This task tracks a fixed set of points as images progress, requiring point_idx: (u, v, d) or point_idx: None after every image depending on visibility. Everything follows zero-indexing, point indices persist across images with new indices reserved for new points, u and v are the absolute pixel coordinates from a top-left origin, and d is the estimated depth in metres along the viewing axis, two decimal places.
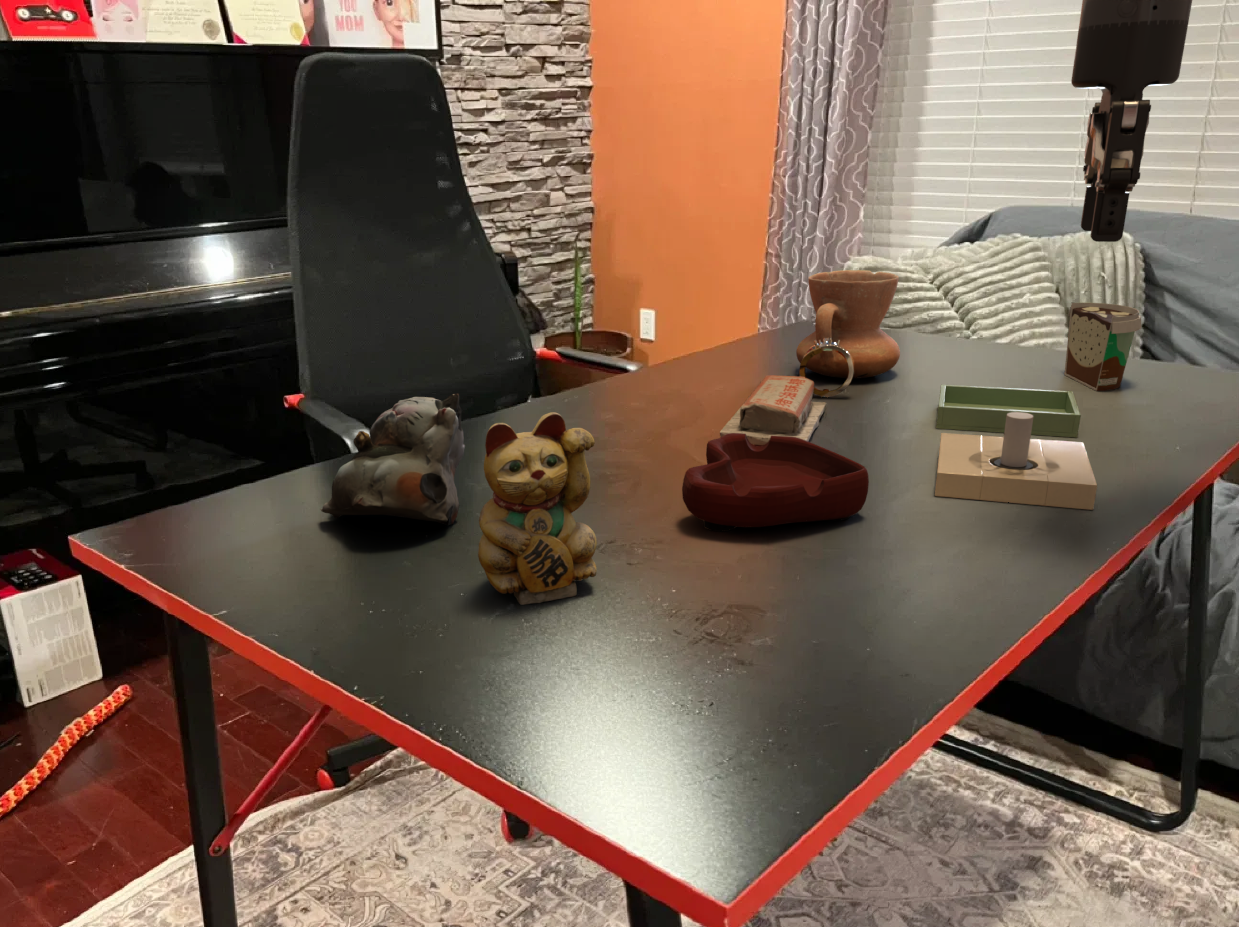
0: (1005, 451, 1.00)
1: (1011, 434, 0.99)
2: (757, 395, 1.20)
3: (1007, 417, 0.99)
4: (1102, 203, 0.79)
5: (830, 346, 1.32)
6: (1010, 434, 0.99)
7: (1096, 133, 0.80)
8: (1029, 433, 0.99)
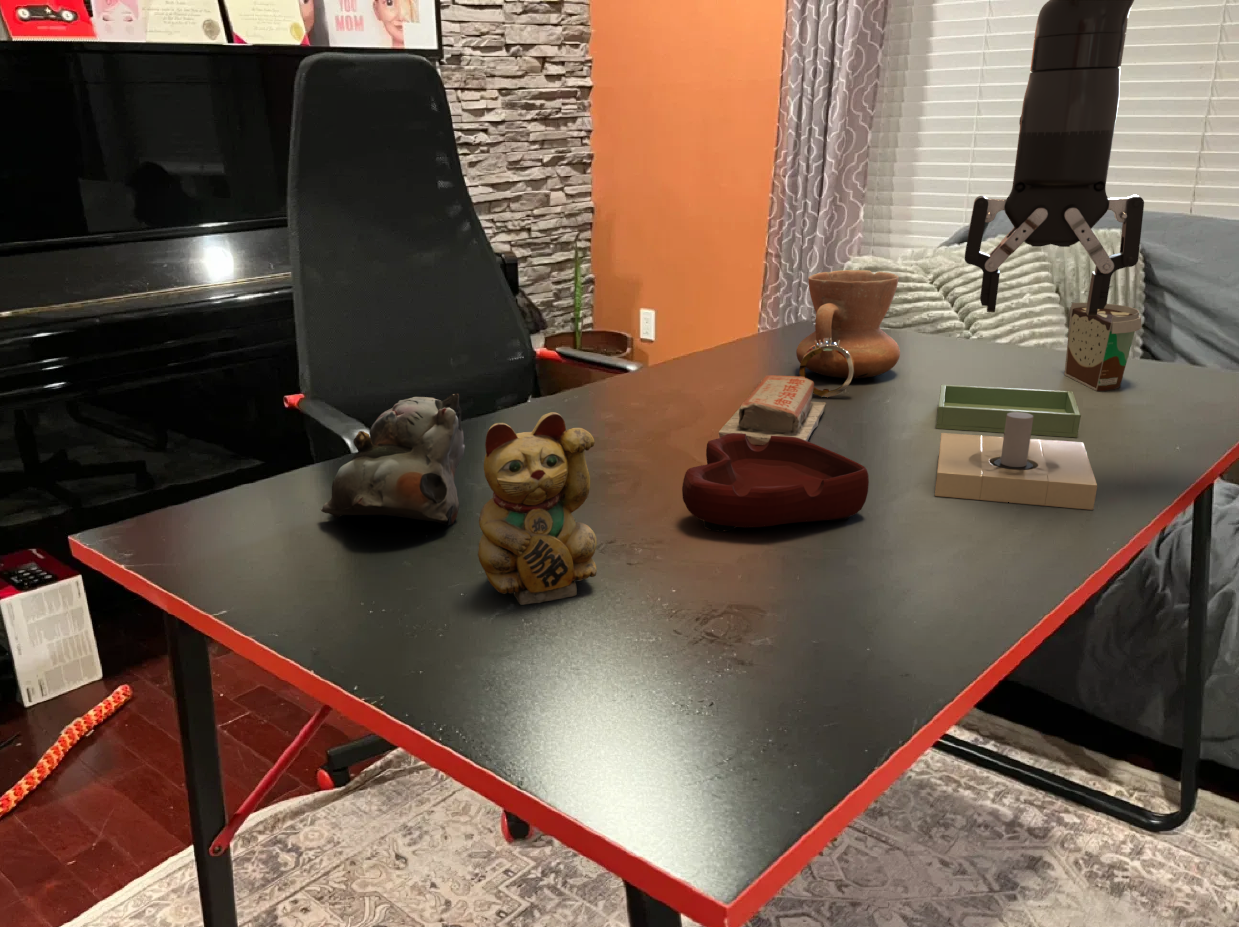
0: (1005, 451, 1.00)
1: (1011, 434, 0.99)
2: (756, 395, 1.20)
3: (1007, 417, 0.99)
4: None
5: (830, 346, 1.32)
6: (1010, 434, 0.99)
7: None
8: (1029, 433, 0.99)
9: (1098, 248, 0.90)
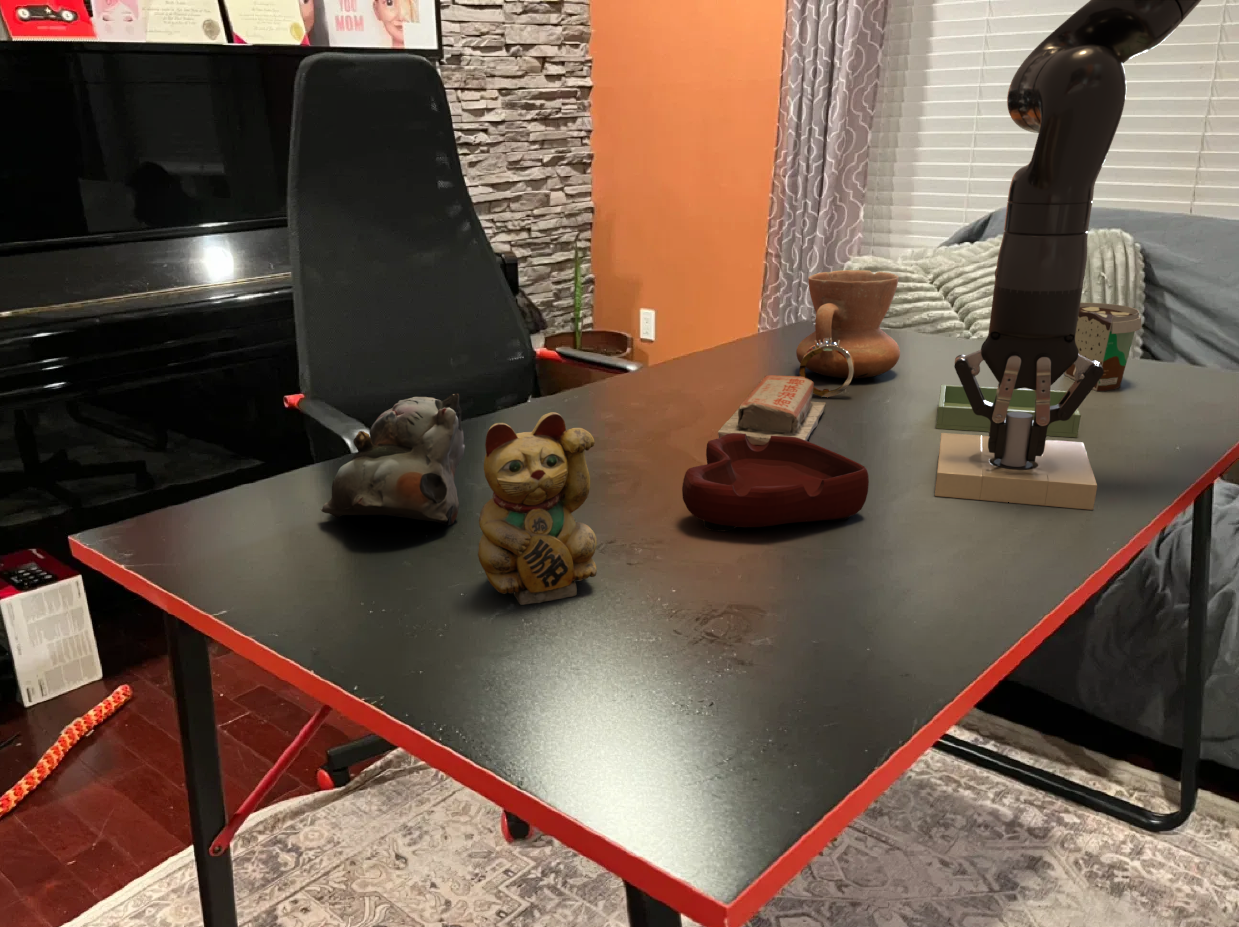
0: (1005, 451, 1.00)
1: (1011, 434, 0.99)
2: (756, 395, 1.20)
3: (1007, 417, 0.99)
4: None
5: (830, 346, 1.32)
6: (1010, 434, 0.99)
7: None
8: (1029, 433, 0.99)
9: (1046, 402, 0.96)
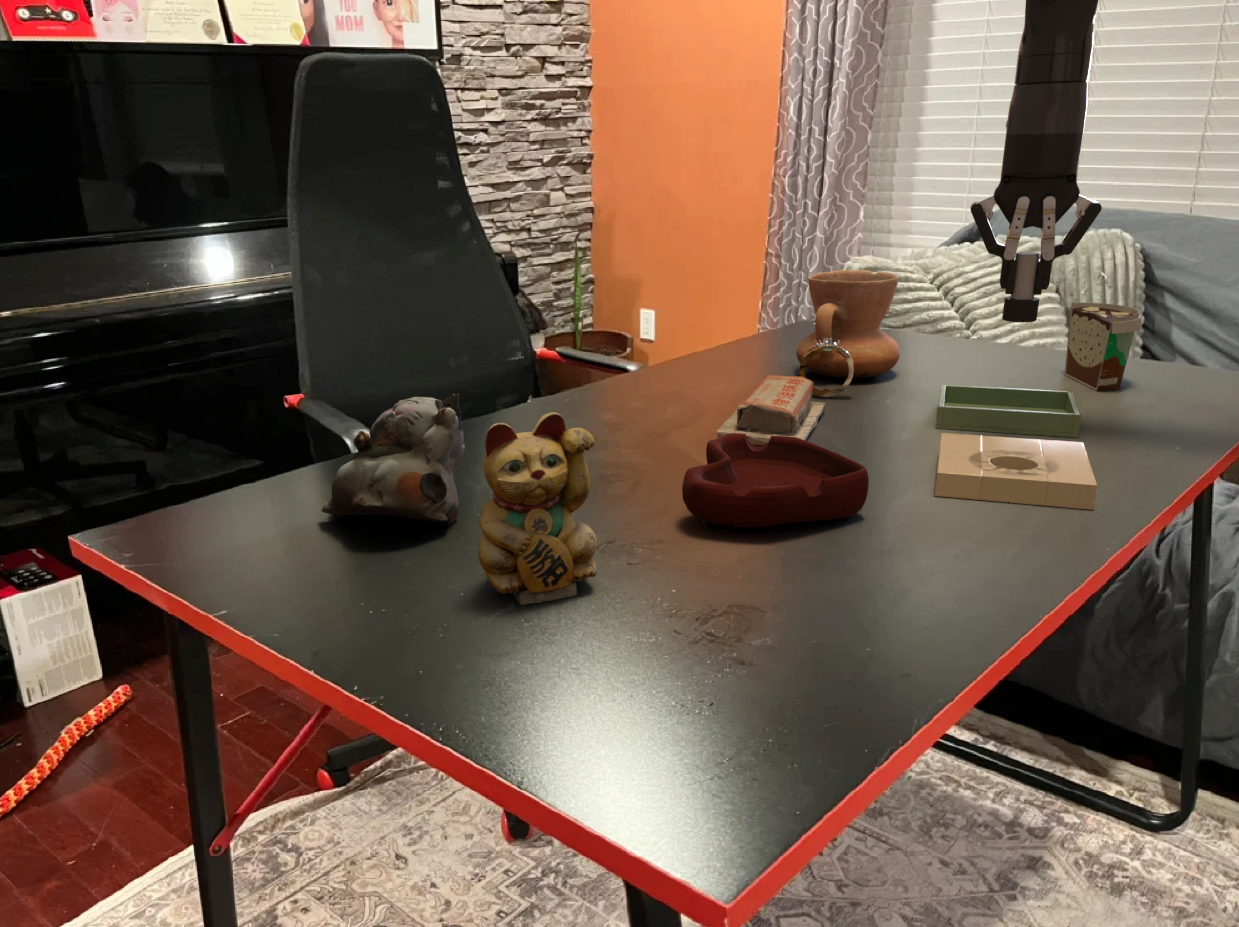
0: (1015, 286, 1.14)
1: (1020, 270, 1.13)
2: (755, 395, 1.20)
3: (1016, 255, 1.13)
4: None
5: (830, 346, 1.32)
6: (1019, 270, 1.13)
7: None
8: (1036, 268, 1.12)
9: (1051, 237, 1.10)
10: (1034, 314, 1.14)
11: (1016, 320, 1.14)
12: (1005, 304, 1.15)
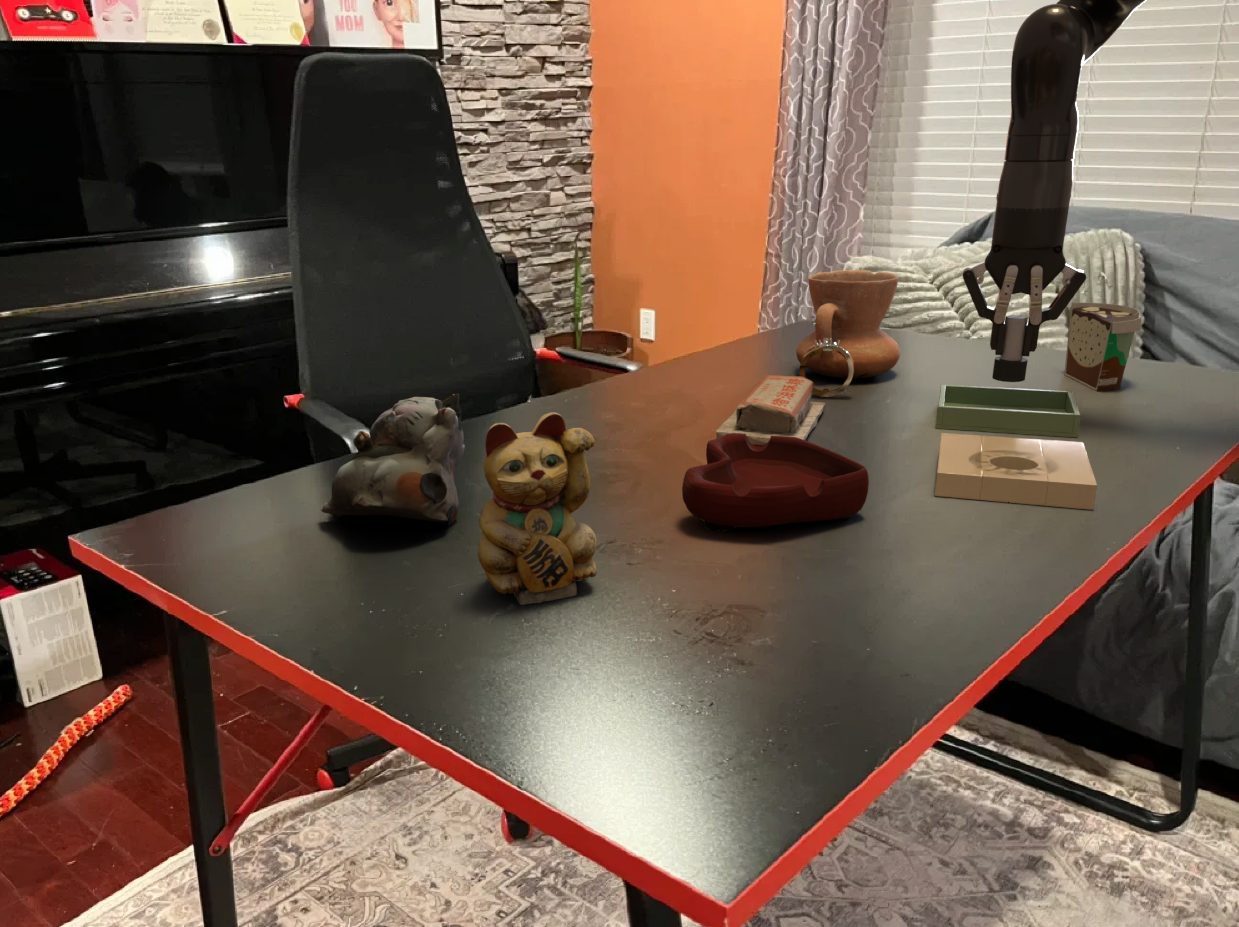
0: (1004, 348, 1.20)
1: (1009, 333, 1.19)
2: (754, 395, 1.20)
3: (1006, 318, 1.19)
4: None
5: (830, 346, 1.32)
6: (1009, 333, 1.19)
7: None
8: (1024, 331, 1.19)
9: (1038, 304, 1.16)
10: (1022, 374, 1.20)
11: (1005, 380, 1.20)
12: (995, 364, 1.21)
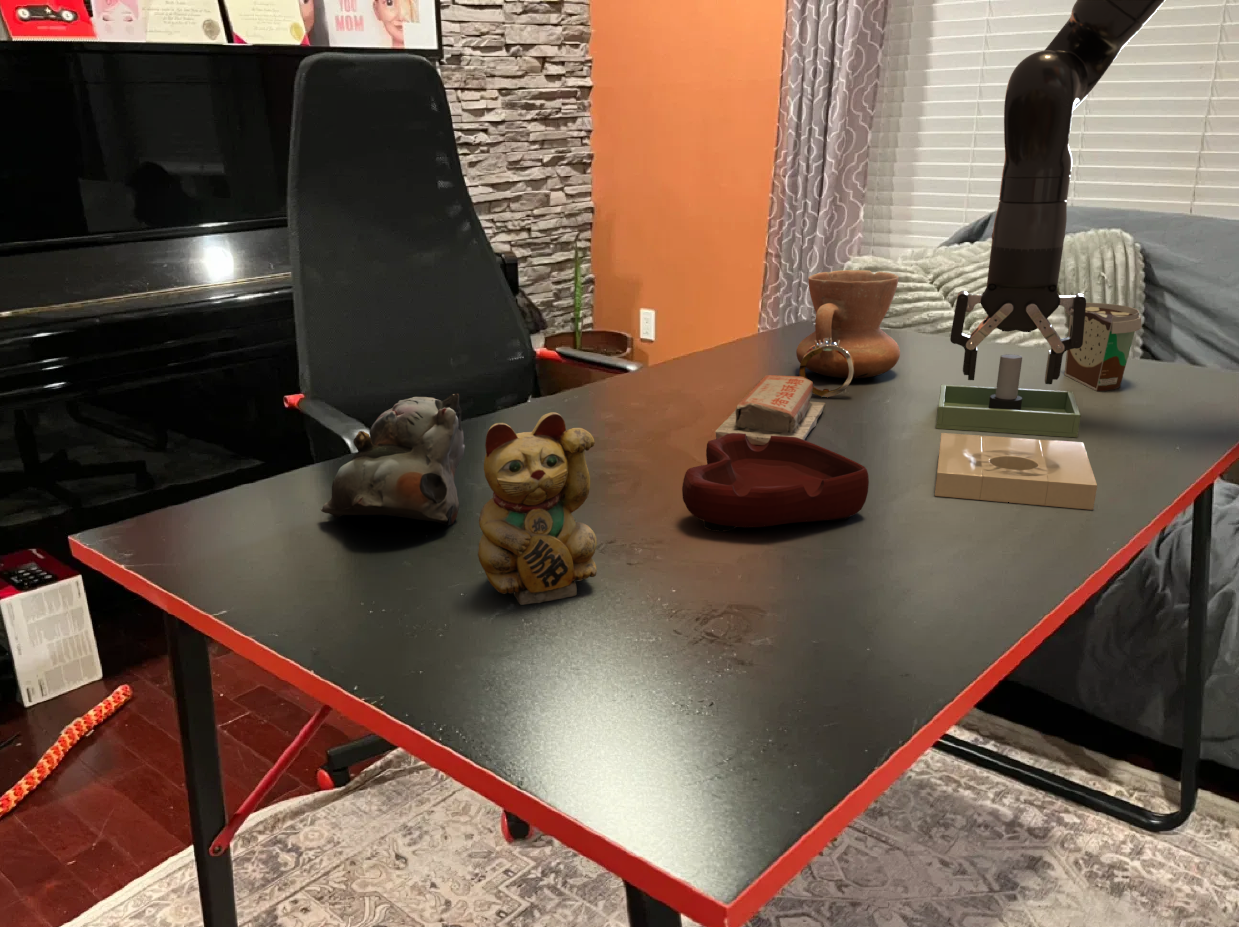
0: (999, 386, 1.21)
1: (1004, 372, 1.20)
2: (754, 395, 1.20)
3: (1001, 358, 1.21)
4: None
5: (830, 346, 1.32)
6: (1003, 372, 1.21)
7: None
8: (1019, 371, 1.20)
9: (1052, 334, 1.17)
10: None
11: None
12: (990, 402, 1.23)
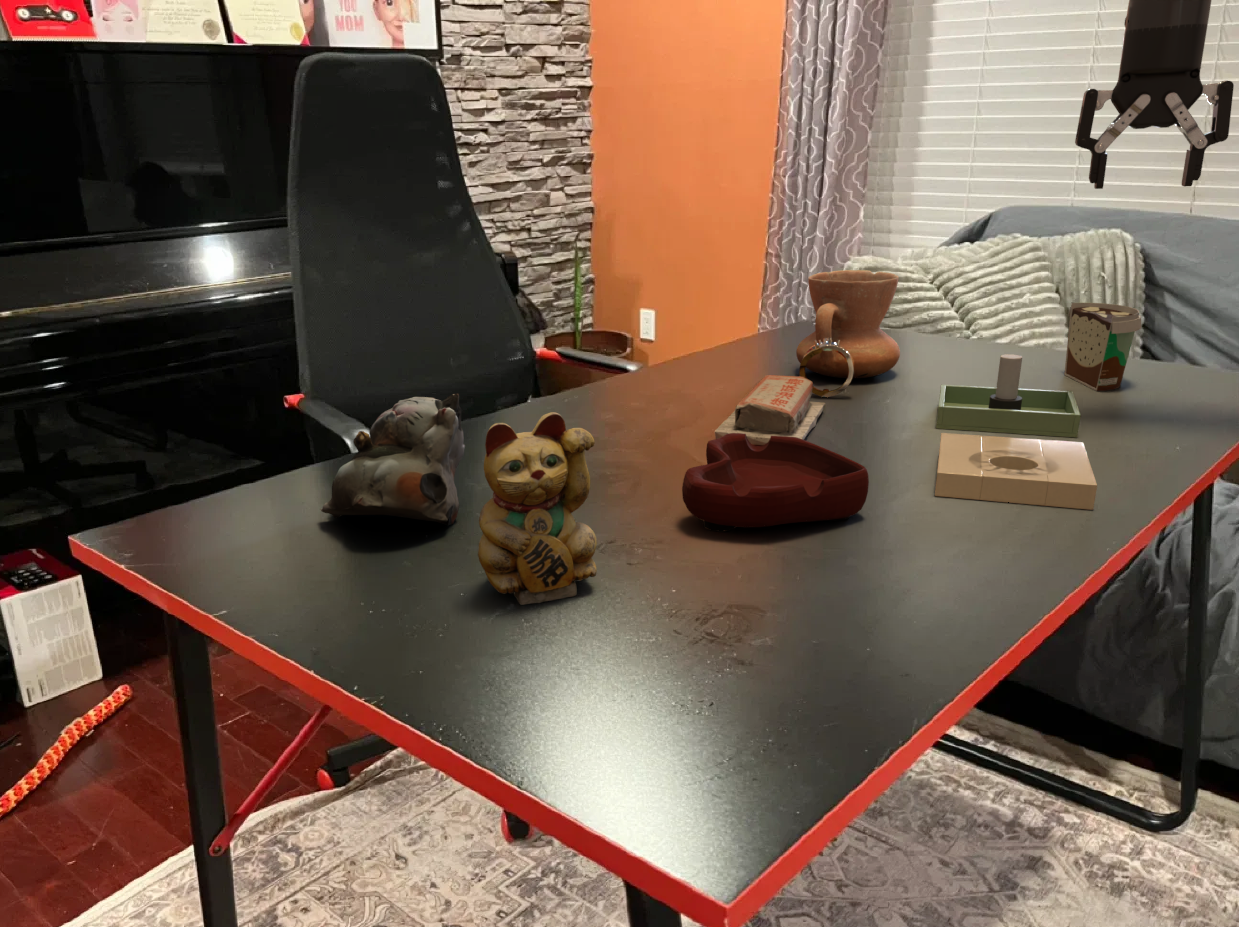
0: (999, 386, 1.21)
1: (1004, 372, 1.20)
2: (753, 395, 1.20)
3: (1001, 358, 1.21)
4: None
5: (830, 346, 1.32)
6: (1003, 372, 1.21)
7: None
8: (1019, 371, 1.20)
9: (1194, 126, 1.07)
10: None
11: None
12: (990, 402, 1.23)
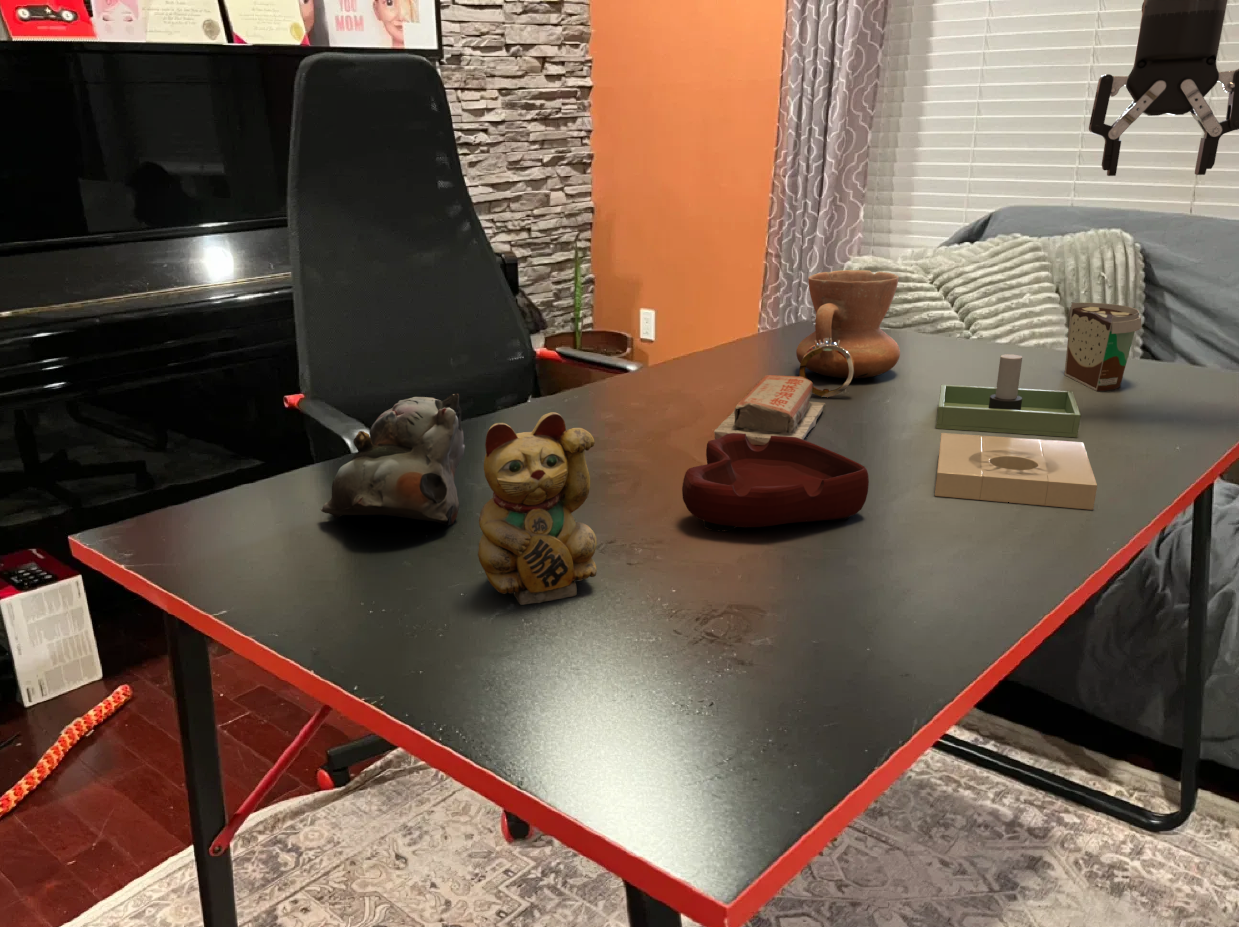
0: (999, 386, 1.21)
1: (1004, 372, 1.20)
2: (753, 395, 1.21)
3: (1001, 358, 1.21)
4: None
5: (830, 346, 1.32)
6: (1003, 372, 1.21)
7: None
8: (1019, 371, 1.20)
9: (1209, 114, 1.06)
10: None
11: None
12: (990, 402, 1.23)
